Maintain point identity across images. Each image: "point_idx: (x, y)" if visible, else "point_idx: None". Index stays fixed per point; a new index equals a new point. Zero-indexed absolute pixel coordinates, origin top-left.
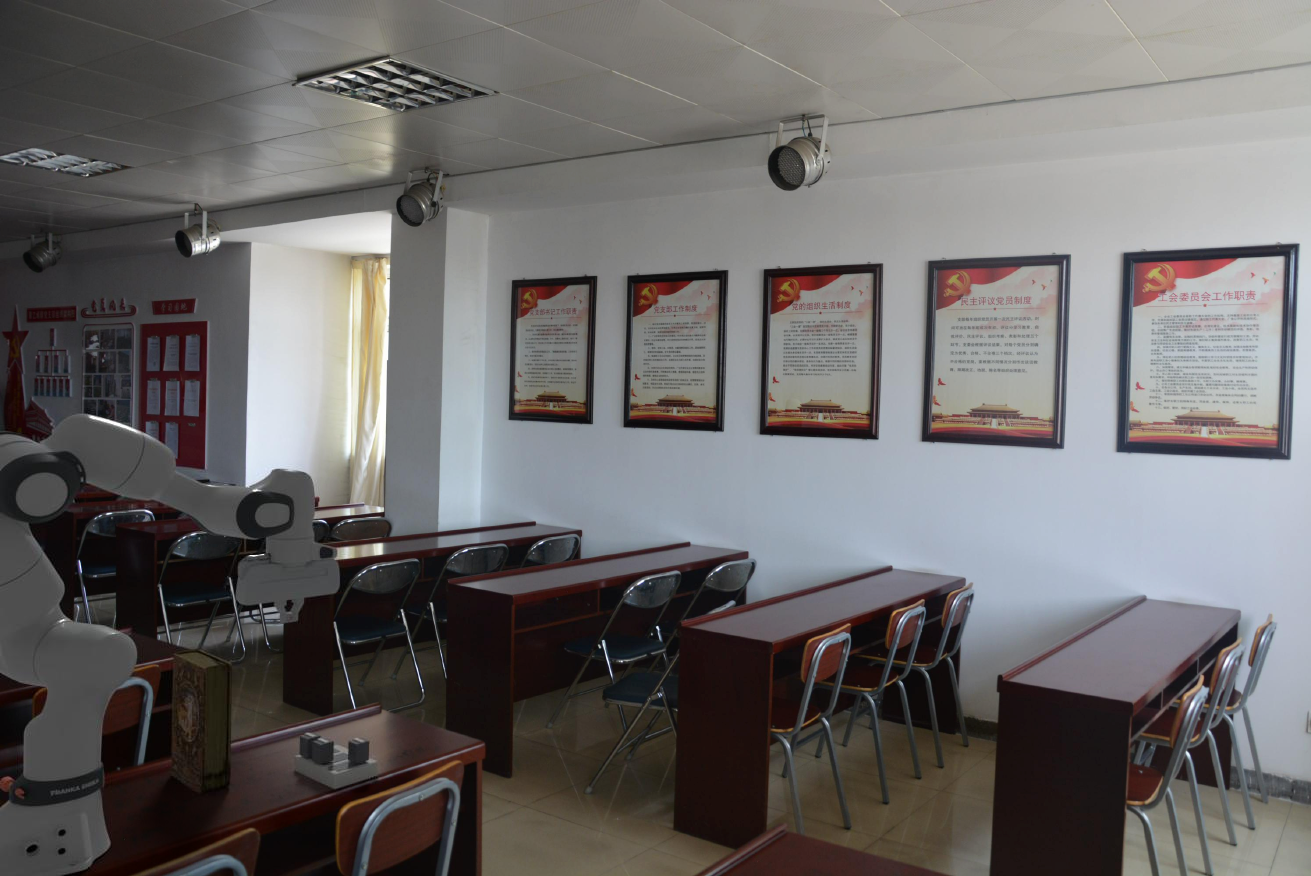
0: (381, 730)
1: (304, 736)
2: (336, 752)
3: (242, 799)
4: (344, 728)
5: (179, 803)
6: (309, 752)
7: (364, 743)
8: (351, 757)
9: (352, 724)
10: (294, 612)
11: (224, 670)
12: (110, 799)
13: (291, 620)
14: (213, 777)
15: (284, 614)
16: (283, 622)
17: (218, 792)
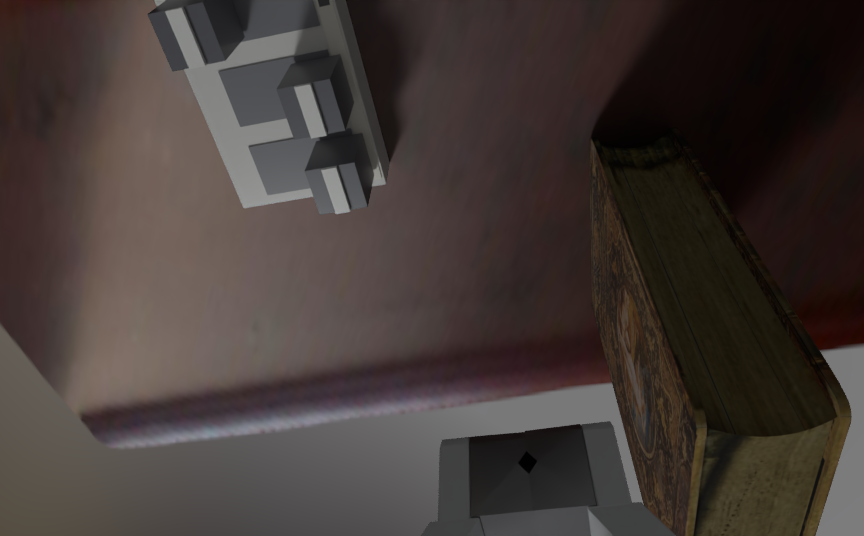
0: (94, 311)
1: (356, 192)
2: (261, 144)
3: (598, 23)
4: (189, 367)
5: (744, 101)
6: (352, 141)
7: (170, 8)
8: (232, 19)
9: (164, 381)
10: (482, 525)
11: (713, 407)
12: (848, 227)
13: (519, 438)
14: (636, 164)
15: (629, 501)
16: (610, 428)
17: (626, 120)
